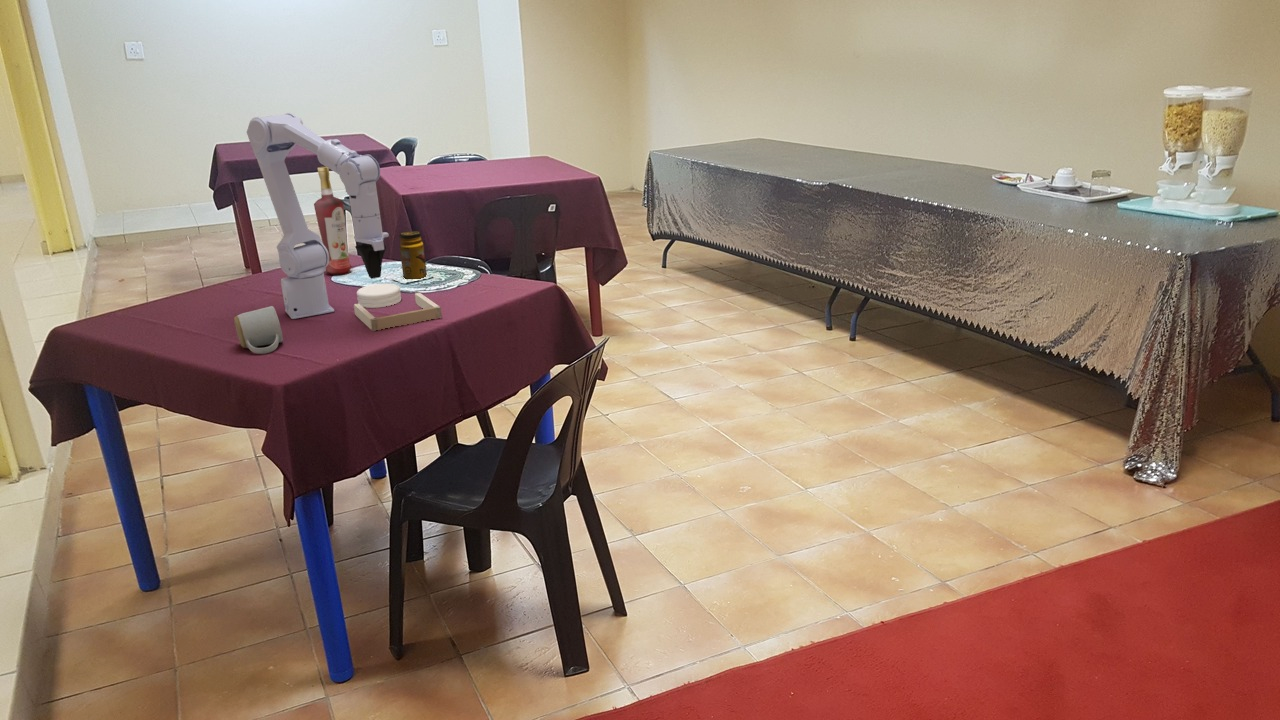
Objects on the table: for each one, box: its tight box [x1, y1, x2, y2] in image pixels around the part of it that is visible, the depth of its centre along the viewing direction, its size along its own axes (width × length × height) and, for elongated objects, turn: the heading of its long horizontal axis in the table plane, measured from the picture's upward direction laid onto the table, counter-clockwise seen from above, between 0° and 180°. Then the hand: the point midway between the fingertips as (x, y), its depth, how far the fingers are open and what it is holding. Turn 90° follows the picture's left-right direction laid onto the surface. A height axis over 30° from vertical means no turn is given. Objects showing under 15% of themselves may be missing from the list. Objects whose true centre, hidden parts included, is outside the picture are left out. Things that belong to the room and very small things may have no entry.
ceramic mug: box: [233, 305, 283, 355], centre depth 184 cm, size 11×8×8 cm
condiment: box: [399, 230, 428, 279], centre depth 230 cm, size 7×8×12 cm
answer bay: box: [353, 292, 443, 332], centre depth 201 cm, size 15×15×2 cm
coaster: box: [356, 283, 402, 309], centre depth 213 cm, size 10×10×4 cm
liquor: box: [313, 166, 353, 276], centre depth 236 cm, size 7×7×28 cm
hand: (374, 277), depth 194 cm, fingers closed
